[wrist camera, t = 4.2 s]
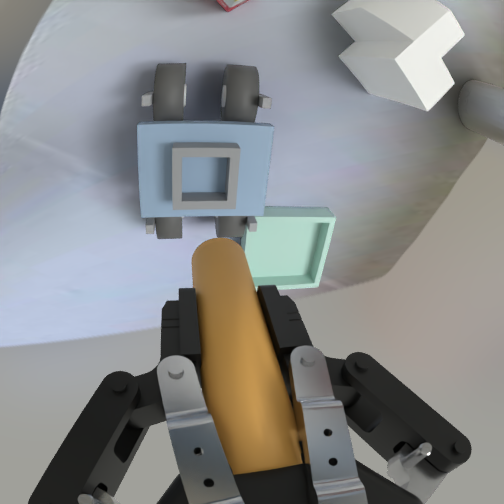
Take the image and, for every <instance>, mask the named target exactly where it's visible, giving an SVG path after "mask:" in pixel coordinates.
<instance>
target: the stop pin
mask: <svg viewBox="0 0 504 504" xmlns="http://www.w3.org/2000/svg"><path fill="white" fill-rule="evenodd" d="M192 277H193V288H195V290H196V303H197V315H198V327H199V338H200V348H201V368H200V377H201V386H202V394H203V397H204V400H205V404H206V407H207V410H208V412H210V414H211V416H212V418H213V421H214V424H215V427H216V430H217V433H218V436H219V439H220V442H221V445H222V448H223V450H224V452H225V456H226V459H227V461H228V464H229V465H230V467H231V469H232V472H233V475H235V474H243V473H251V472H258V471H265V470H271V469H277V468H282V467H287V466H292V465H297V464H302V463H303V462H302V459H301V453H302V451H301V447H300V444H299V441H302V438H301V435H300V433H299V432H298V431H297V426H296V421H295V416H294V412H293V408H292V405H291V401H290V398H289V395H288V392H287V389H286V386H285V382H284V379H283V376H282V373H281V369H280V366H279V363H278V360H277V357H276V353H275V350H274V347H273V344H272V340H271V337H270V334H269V331H268V327H267V324H266V321H265V318H264V314H263V311H262V308H261V305H260V301H259V298H258V295H257V292H256V288H255V285H254V282H253V279H252V275H251V272H250V269H249V265H248V262H247V259H246V256H245V252H244V250H243V248H242V247H241V246H240V245H239V244H238V243H237V242H235V241H233V240H231V239H228V238H213V239H210V240H207V241H205V242H203V243H202V244H201V245H199V246H198V247H197V249H196V250H195V252H194V253H193V256H192Z"/></svg>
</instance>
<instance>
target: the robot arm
mask: <svg viewBox="0 0 504 504" xmlns="http://www.w3.org/2000/svg"><path fill="white" fill-rule="evenodd" d="M458 111H459V116H460V119H461V121H462V123H463V125H464V126H465V127H466V128H467V129H469V130H472V131H474V132H476V133H478V134H481V135H483V136H485V137H487V138H489V139H491V140H493V141H495V142H497V143H499V144H502V145H503V146H504V88H502V87H499V86H496V85H493V84H489V83H485V82H482V81H478V80H470V81H467V82H466V83H465V84H464V86H463V87H462V89H461V91H460V94H459V99H458ZM257 295H258V298H259V301H260V305H261V308H262V311H263V314H264V318H265V321H266V324H267V327H268V331H269V334H270V337H271V340H272V344H273V347H274V350H275V353H276V357H277V360H278V363H279V366H280V369H281V373H282V376H283V379H284V382H285V386H286V389H287V392H288V395H289V398H290V401H291V405H292V408H293V412H294V416H295V421H296V426H297V431H298V432H299V433H300V435H301V438H302V441H299V444H300V447H301V451H302V453H301V459H302V462H303V463H302V464H297V465H292V466H287V467H282V468H277V469H271V470H265V471H258V472H251V473H243V474H235V475H233V472H232V469H231V467H230V465H229V464H228V461H227V459H226V456H225V452H224V450H223V448H222V445H221V442H220V439H219V436H218V433H217V430H216V427H215V424H214V421H213V418H212V416H211V414H210V412H208V410H207V407H206V404H205V400H204V397H203V394H202V391H201V388H202V386H201V377H200V368H201V348H200V338H199V327H198V315H197V303H196V290H195V288H179V300H177V301H167V302H166V303H165V305H164V307H163V308H162V321H161V358H160V362H159V364H158V365H157V366H156V367H155V368H154V369H153V370H152V371H150V372H148V373H145V374H142V375H139V376H135V377H134V376H133V375H131V374H130V373H128V372H123V371H116V372H113V373H111V374H109V375H107V376H106V377H105V378H104V379H103V381H102V383H101V384H100V385H99V387H98V389H97V390H96V391H95V393H94V394H93V396H92V398H91V399H90V401H89V402H88V404H87V405H86V407H85V408H84V410H83V411H82V413H81V414H80V416H79V418H78V419H77V421H76V422H75V424H74V425H73V427H72V429H71V430H70V432H69V433H68V435H67V437H66V438H65V440H64V441H63V443H62V445H61V446H60V448H59V450H58V451H57V453H56V454H55V456H54V458H53V459H52V461H51V463H50V464H49V466H48V468H47V470H46V471H45V473H44V474H43V476H42V478H41V480H40V481H39V483H38V485H37V487H36V488H35V490H34V492H33V493H32V495H31V497H30V499H29V502H28V504H120V503H119V502H118V501H117V500H116V499H115V498H114V495H115V493H116V491H117V489H118V487H119V485H120V484H121V482H122V480H123V478H124V476H125V474H126V472H127V470H128V468H129V466H130V464H131V462H132V460H133V458H134V456H135V454H136V452H137V450H138V448H139V446H140V444H141V442H142V440H143V439H144V436H145V435H146V433H147V431H148V429H149V427H150V426H151V425H154V424H157V423H160V422H163V421H167V426H168V430H169V434H170V438H171V442H172V446H173V450H174V454H175V458H176V461H177V465H178V469H179V472H180V474H179V475H178V476H177V477H176V478H175V479H174V481H173V482H172V484H171V485H170V486H169V488H168V489H167V490H166V492H165V493H164V494H163V496H162V497H161V499H160V500H159V501H158V502H157V504H425V503H426V502H427V500H428V499H429V498H430V497H431V495H432V494H433V493H434V491H435V490H436V489H437V487H438V486H439V485H440V483H441V482H442V481H443V479H444V478H445V476H446V475H447V474H448V473H449V472H451V471H452V470H454V469H455V468H457V467H458V466H460V465H461V464H463V463H464V462H466V461H467V460H468V459H469V457H470V455H471V445H470V442H469V440H468V439H467V438H466V436H464V435H463V434H462V433H461V432H460V431H458V430H457V429H456V428H455V427H454V426H452V425H451V424H450V423H449V422H448V421H447V420H445V419H444V418H443V417H442V416H441V415H440V414H438V413H437V412H436V411H435V410H433V409H432V408H431V407H430V406H429V405H428V404H427V403H425V402H424V401H423V400H422V399H420V398H419V397H418V396H417V395H416V394H415V393H413V392H412V391H411V390H410V389H409V388H408V387H406V386H405V385H404V384H403V383H402V382H401V381H399V380H398V379H397V378H396V377H395V376H393V375H392V374H391V373H390V372H389V371H387V370H386V369H385V368H384V367H383V366H382V365H380V364H379V363H378V362H377V361H376V360H375V359H373V358H372V357H371V356H370V355H368V354H365V353H362V352H355V353H352V354H350V355H349V356H348V357H347V358H346V360H344V359H336V358H329V357H326V356H324V355H323V353H322V352H321V351H320V350H319V349H317V348H315V347H313V345H312V342H311V340H310V338H309V335H308V333H307V330H306V328H305V326H304V323H303V321H302V320H301V316H300V314H299V312H298V309H297V307H296V304H295V302H293V301H292V300H291V299H290V298H289V297H288V296H287V295H286V296H280V295H279V292H278V289H277V287H276V285H259V286H258V288H257ZM348 426H349V427H350V428H352V429H353V430H354V431H355V432H356V433H357V434H358V435H359V436H360V437H361V438H362V439H363V440H365V442H367V443H368V444H369V445H370V446H371V447H372V448H373V449H374V450H375V451H376V452H377V453H379V454H380V455H381V456H382V457H383V458H384V459H385V460H386V461H387V462H388V465H387V466H388V467H387V468H388V476H389V477H391V478H393V479H394V481H395V484H394V483H393V482H391V481H390V480H388V479H386V478H384V477H383V476H381V475H379V474H378V473H376V472H374V471H373V470H371V469H370V468H368V467H366V466H365V465H363V464H362V463H360V462H359V461H357V460H355V458H354V453H353V448H352V443H351V439H350V434H349V430H348Z"/></svg>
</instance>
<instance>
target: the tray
mask: <svg viewBox="0 0 504 504" xmlns="http://www.w3.org/2000/svg"><path fill="white" fill-rule="evenodd" d="M254 217H255V219H256V221H257V231H256V232H249V230H248V227H247V225H246V227H245V232H244V235H243V237H241V247H242V248H243V250H244V252H245V256H246V259H247V262H248V265H249V269H250V272H251V275H252V279H253V282H254V285H255V288H256V291H257V288H258V286H259V285H276V287H277V289H278V290H282V289H297V288H312V287H318V285H319V282H320V278H321V275H322V271H323V267H324V263H325V260H326V256H327V252H328V248H329V244H330V241H331V237H332V233H333V229H334V224H335V220H336V217H335V216H334V214H333V213H332V212H331V211H330V210H329V209H328V208H320V207H266V206H265V207H264V215H263V216H254Z"/></svg>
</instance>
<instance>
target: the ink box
mask: <svg viewBox="0 0 504 504" xmlns="http://www.w3.org/2000/svg"><path fill="white" fill-rule="evenodd" d="M216 1H217V2H218V3H219V4H220V5H221V6H222V7H223V8H224V9H225V11H227V12H229V11H231V10H233V9H235V8H236V7H238V6H240V5H242V4H243V3H245V2H247V1H249V0H216Z"/></svg>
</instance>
